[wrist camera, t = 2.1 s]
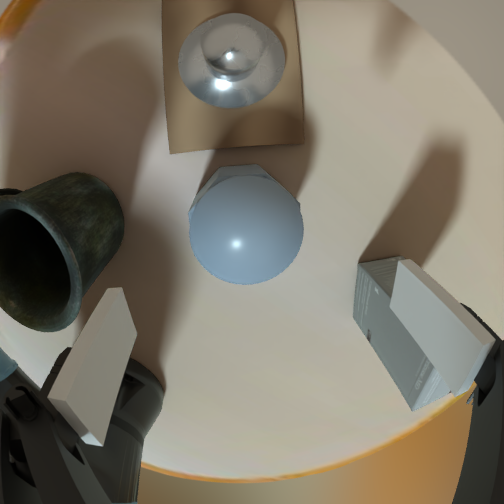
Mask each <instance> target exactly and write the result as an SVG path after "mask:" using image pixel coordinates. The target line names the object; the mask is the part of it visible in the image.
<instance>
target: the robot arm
mask: <svg viewBox="0 0 504 504" xmlns="http://www.w3.org/2000/svg"><path fill="white" fill-rule="evenodd" d="M390 308H391V310H392V311H393V312H394V313H395V315H396V316H397V317H398V319H399V320H400V321H401V322H402V324H403V325H404V326H405V328H406V329H407V330H408V332H409V333H410V334H411V336H412V337H413V338H414V340H415V341H416V342H417V344H418V345H419V346H420V348H421V349H422V350H423V352H424V353H425V355H426V356H427V357H428V359H429V360H430V362H431V363H432V364H433V366H434V367H435V369H436V370H437V371H438V373H439V374H440V376H441V377H442V379H443V380H444V382H445V383H446V385H447V386H448V387H449V389H450V390H451V392H452V393H453V395H454V396H455V397H456V396H458V395H460V394H462V393H464V392H466V391H468V389H469V388H470V386H471V384H472V383H473V381H475V383H476V384H477V386H476V388H475V390H474V391H473V393H472V394H471V396H470V397H469V399H468V400H467V404H469V402H470V401H471V400H472V398H474V399H473V403H472V405H473V409H472V417H471V425H470V432H469V437H468V443H467V448H466V453H465V458H464V463H463V467H462V471H461V475H460V478H459V482H458V486H457V489H456V493H455V496H454V499H453V502H452V504H504V340H503V341H502V340H501V339H500V338H499V337H498V336H497V334H496V333H495V332H494V331H493V330H492V329H491V328H490V327H489V326H488V325H487V324H486V323H485V322H483V320H482V319H481V318H480V317H479V316H478V317H477V314H476V313H475V312H474V311H473V310H472V309H471V308H469V307H467V306H466V305H464V304H462V303H459V302H458V301H457V300H456V299H455V298H454V297H453V296H452V295H451V294H449V293H448V292H447V291H446V290H445V289H444V288H443V287H442V286H441V285H440V284H439V283H437V282H436V281H435V280H434V279H433V278H432V277H431V276H430V275H428V274H427V273H426V272H425V271H424V270H423V269H422V268H420V267H419V266H418V265H417V264H416V263H415V262H413V261H412V260H411V259H407V260H399V261H398V266H397V272H396V277H395V282H394V288H393V293H392V297H391V302H390ZM136 337H137V331H136V328H135V326H134V323H133V320H132V317H131V314H130V311H129V308H128V305H127V302H126V299H125V296H124V292H123V289H122V287H119V288H108V289H107V290H106V292H105V293H104V295H103V296H102V298H101V300H100V301H99V303H98V305H97V306H96V308H95V309H94V311H93V313H92V314H91V316H90V318H89V320H88V321H87V323H86V325H85V326H84V328H83V330H82V332H81V333H80V335H79V337H78V339H77V340H76V342H75V344H74V346H73V348H71V347H67V348H66V349H65V350H64V351H63V352H62V353H61V354H60V355H59V356H58V358H57V360H56V362H55V363H54V366H53V367H52V369H51V371H50V374H49V375H48V376H47V378H46V380H45V382H44V384H43V386H42V388H40V387H39V386H37V385H36V384H35V383H34V382H33V381H32V380H31V379H30V378H29V377H28V376H27V375H26V374H25V373H24V372H23V371H22V369H21V368H20V367H19V366H18V364H17V363H16V361H15V360H12V359H11V358H10V357H9V356H8V355H7V354H6V353H5V352H4V351H3V350H2V349H1V348H0V504H137V495H138V485H139V476H140V467H141V458H142V450H143V443H144V438H145V436H146V435H147V433H148V432H149V430H150V428H151V427H152V425H153V424H154V422H155V420H156V419H157V417H158V415H159V414H160V412H161V409H162V404H163V397H164V394H163V389H162V387H161V385H160V383H159V381H158V380H157V379H156V377H155V376H154V375H153V374H152V373H151V372H150V371H149V370H147V369H146V368H145V367H144V366H142V365H141V364H139V363H138V362H136V361H134V360H132V359H130V358H129V357H130V354H131V351H132V348H133V345H134V342H135V340H136Z"/></svg>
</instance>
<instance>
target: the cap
mask: <svg viewBox="0 0 504 504" xmlns="http://www.w3.org/2000/svg"><path fill="white" fill-rule="evenodd" d="M188 215H189V222H190V230H189V235H190V242H191V247H192V249H193V252H194V256H196V258H197V260H198V261H199V262H200V264H201V265H202V266H203V267H204V268H205V269H206V270H207V271H208V272H209V273H211V274H212V275H214V276H215V277H217V278H219V279H221V280H223V281H226V282H229V283H234V284H242V285H247V284H256V283H261V282H264V281H267V280H269V279H272V278H273V277H275V276H277V275H278V274H280V273H281V272H283V271H284V270H285V269H286V268H287V267H288V266H289V265H290V264H291V263H292V262H293V260H294V259H295V257H296V256H297V254H298V252H299V249H300V247H301V244H302V239H303V231H304V227H303V219H302V215H301V212H300V203H299V202H298V201H297V200H296V199H295V198H294V197H293V196H292V195H291V194H290V193H289V192H288V191H287V190H286V189H285V188H284V187H283V186H282V185H281V184H280V183H278V182H277V181H276V180H275V179H274V178H273V177H272V176H270V175H269V174H268V173H267V172H266V171H265V170H264V169H262V168H261V167H260V166H259V165H258V164H251V165H238V166H227V167H219V168H218V170H217V171H216V172H215V173H214V174H213V175H212V177H211V178H210V179H209V180H208V181H207V183H206V184H205V185H204V186H203V187H202V189H201V190H200V191H199V192H198V194H197V195H196V196H195V199H194V201H193V203H192V206H191V208H190V210H189V213H188Z"/></svg>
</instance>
